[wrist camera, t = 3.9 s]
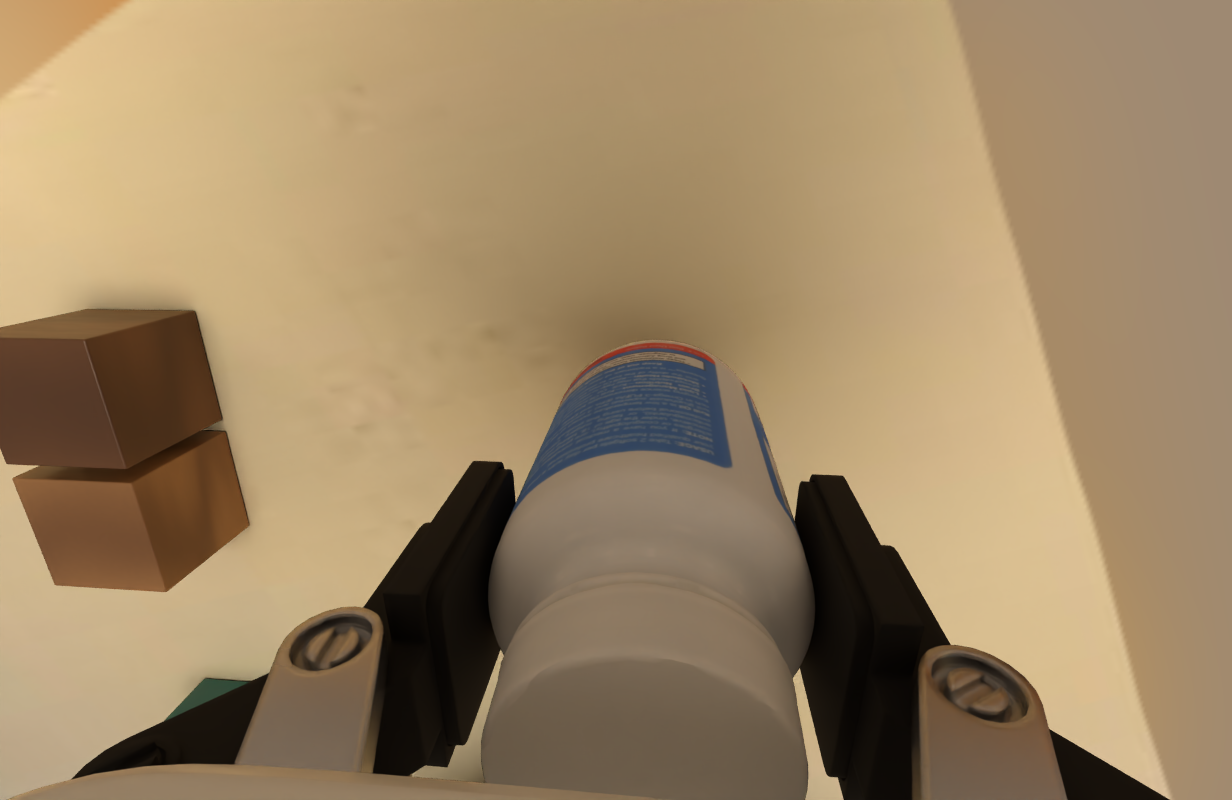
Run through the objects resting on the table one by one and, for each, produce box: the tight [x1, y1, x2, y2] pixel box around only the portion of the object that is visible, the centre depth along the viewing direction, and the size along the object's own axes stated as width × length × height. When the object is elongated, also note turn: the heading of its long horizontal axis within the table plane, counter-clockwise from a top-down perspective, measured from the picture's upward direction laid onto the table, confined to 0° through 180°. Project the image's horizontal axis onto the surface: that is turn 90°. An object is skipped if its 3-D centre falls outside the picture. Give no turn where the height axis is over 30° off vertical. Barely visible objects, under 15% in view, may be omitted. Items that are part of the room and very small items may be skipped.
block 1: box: [0, 309, 222, 469], centre depth 21 cm, size 4×4×4 cm
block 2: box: [13, 431, 249, 592], centre depth 23 cm, size 4×4×4 cm
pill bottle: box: [481, 340, 815, 800], centre depth 11 cm, size 6×5×10 cm
